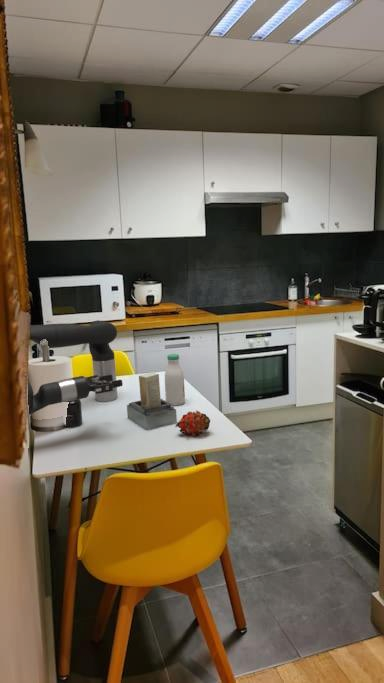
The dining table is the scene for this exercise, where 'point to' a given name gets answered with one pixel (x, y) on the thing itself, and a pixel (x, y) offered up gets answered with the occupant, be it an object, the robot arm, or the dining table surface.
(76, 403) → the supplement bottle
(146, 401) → the skincare box
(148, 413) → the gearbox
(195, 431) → the dragon fruit
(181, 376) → the milk bottle
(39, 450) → the dining table surface
